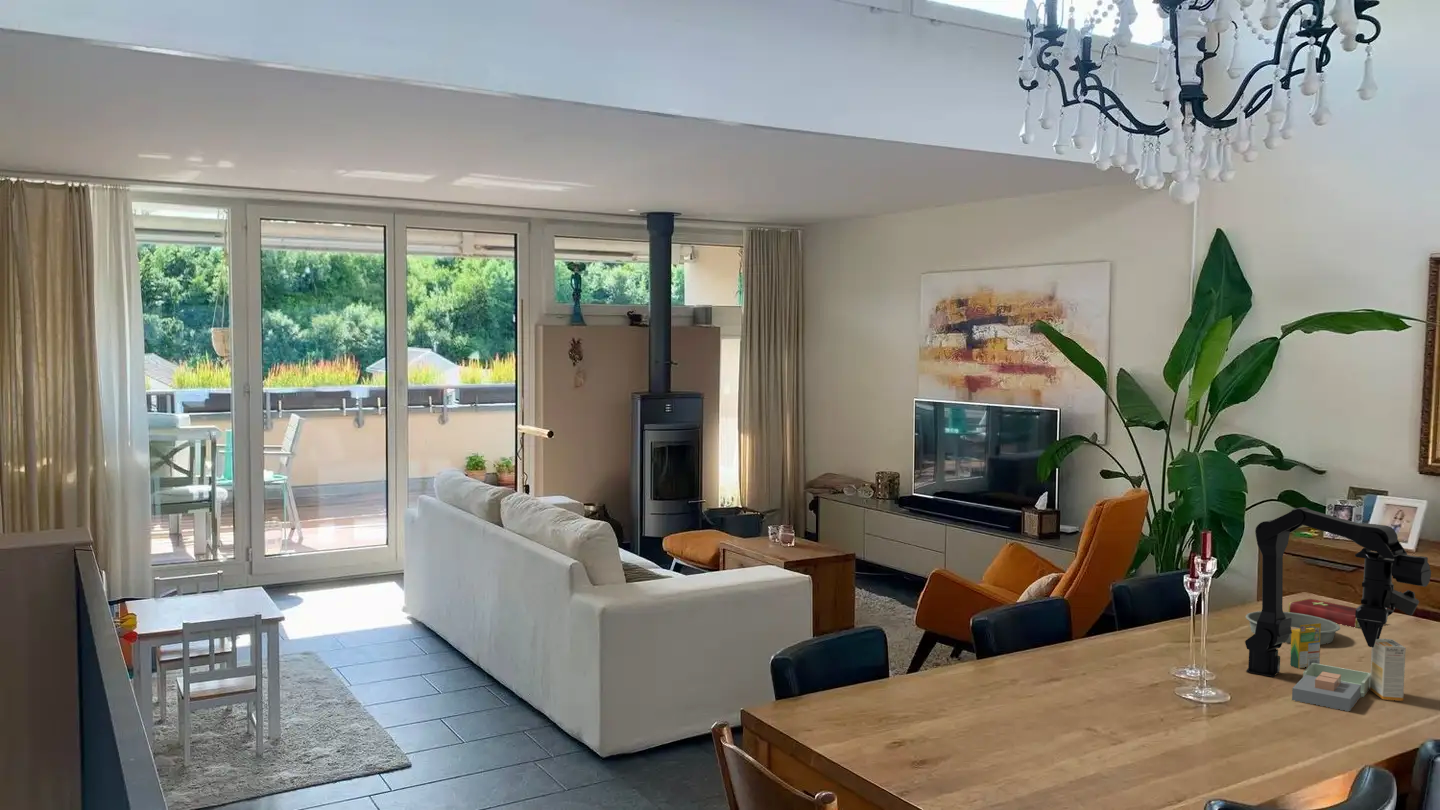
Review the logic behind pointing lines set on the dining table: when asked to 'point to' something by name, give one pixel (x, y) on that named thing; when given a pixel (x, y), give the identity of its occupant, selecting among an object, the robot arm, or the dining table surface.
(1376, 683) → the supplement box
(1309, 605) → the hardcover book
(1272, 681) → the dining table surface
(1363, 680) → the box
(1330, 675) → the tile
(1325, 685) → the tile
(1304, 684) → the grey base plate
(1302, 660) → the crayon box
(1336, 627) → the cake pan
